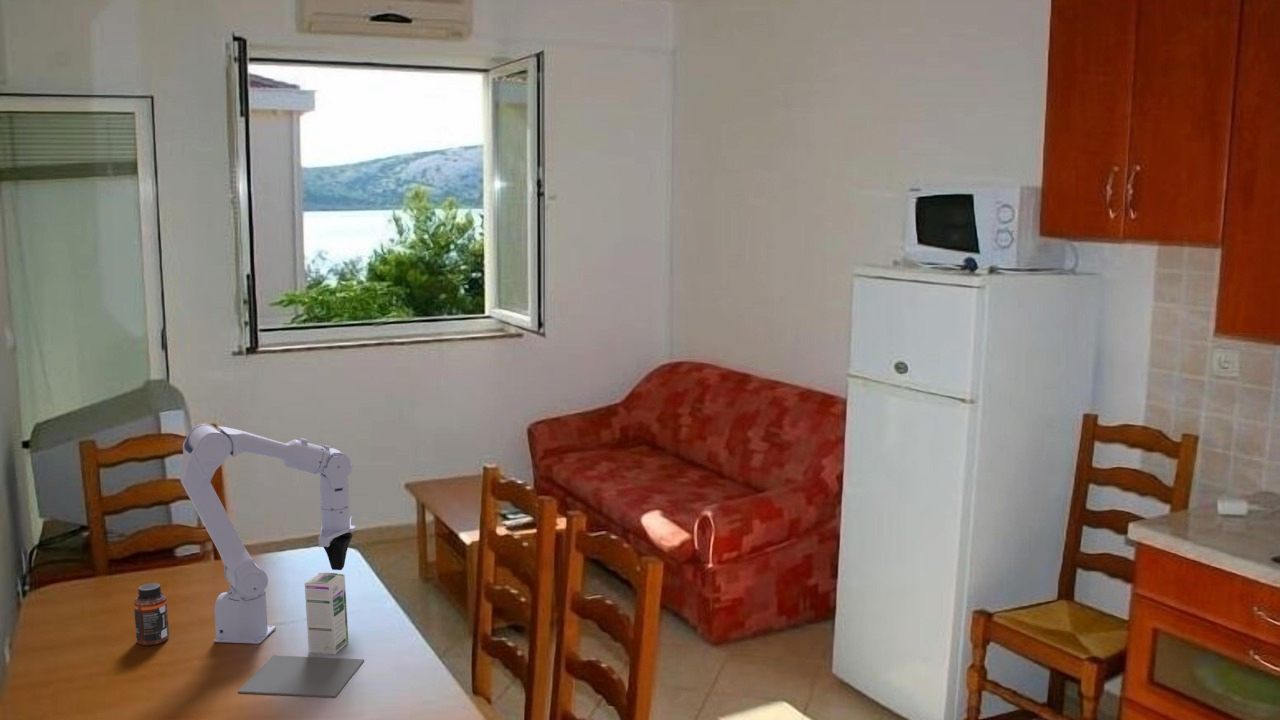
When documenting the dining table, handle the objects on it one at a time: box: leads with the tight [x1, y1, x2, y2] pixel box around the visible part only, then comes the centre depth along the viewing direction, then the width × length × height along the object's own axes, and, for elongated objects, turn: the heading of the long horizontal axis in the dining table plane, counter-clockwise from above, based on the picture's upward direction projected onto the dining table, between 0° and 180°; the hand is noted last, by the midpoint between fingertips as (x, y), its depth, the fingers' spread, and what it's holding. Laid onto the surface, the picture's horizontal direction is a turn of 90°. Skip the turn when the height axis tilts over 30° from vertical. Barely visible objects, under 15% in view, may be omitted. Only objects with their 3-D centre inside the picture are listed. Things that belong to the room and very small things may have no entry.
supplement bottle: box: [133, 582, 170, 646], centre depth 212 cm, size 6×6×11 cm
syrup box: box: [304, 572, 349, 656], centre depth 209 cm, size 6×6×14 cm
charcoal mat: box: [237, 654, 365, 698], centre depth 197 cm, size 18×15×1 cm
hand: (337, 568), depth 224 cm, fingers closed
